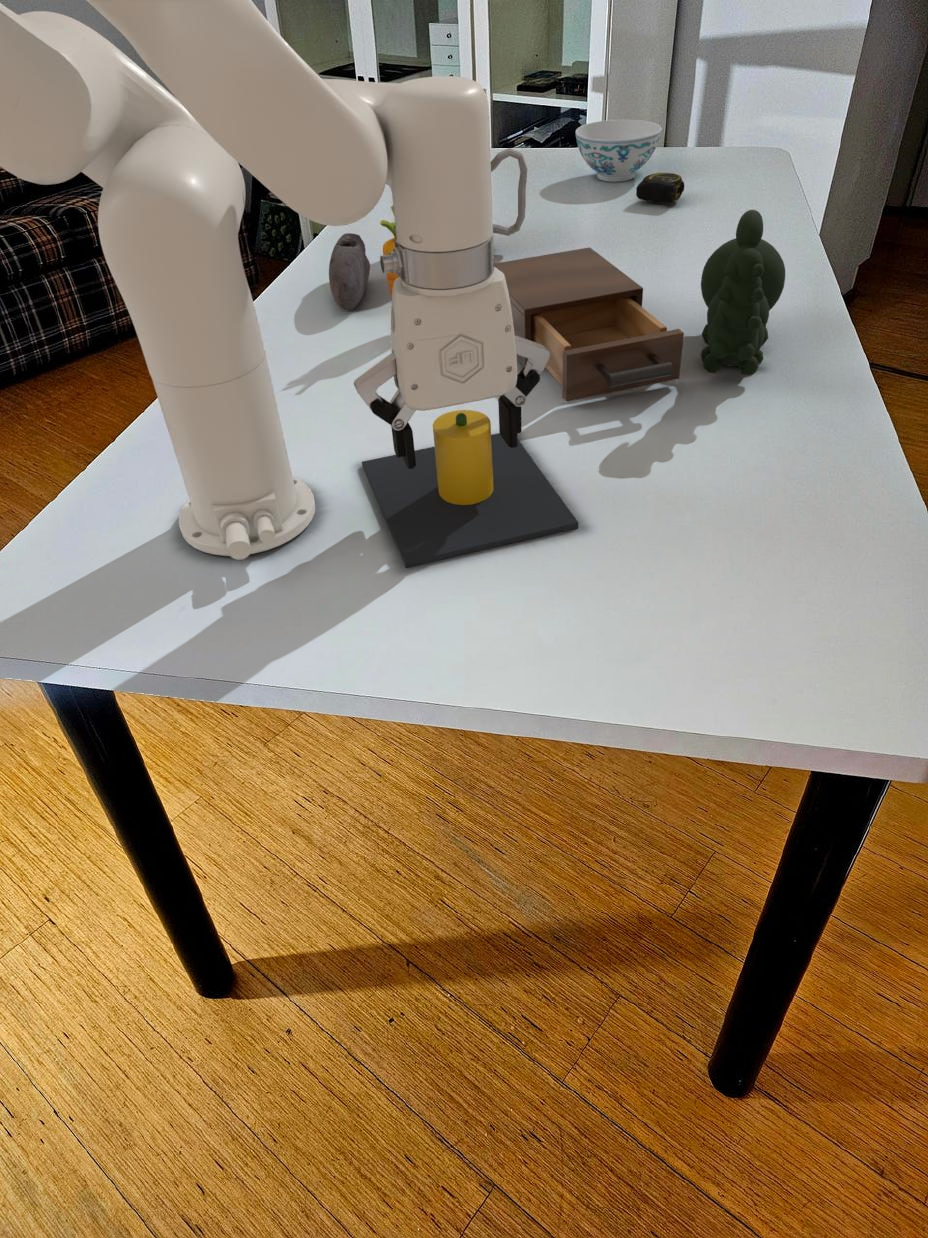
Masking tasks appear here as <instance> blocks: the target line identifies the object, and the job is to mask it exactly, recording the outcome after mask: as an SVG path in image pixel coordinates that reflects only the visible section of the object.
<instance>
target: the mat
mask: <svg viewBox="0 0 928 1238" xmlns="http://www.w3.org/2000/svg"><path fill="white" fill-rule="evenodd" d="M491 444H492V466H493V492H492V494H491V496H490V497H488V498H487V499H486V500H484V501H482V502H479V503H476V504H471V505H456V504H452V503H449V502H447V501H445V500H444V499H442V498H441V496H440V495H439V489H438V478H437V467H436V457H435V446H431V447H426V448H421V449H417V450H416V449H415V460H416V466H415V467H414V468H412V469H408V468H407V466H406V464H405V462H404V460H403V458H402V457H400V458H397V456H396V454H393V455H388V456H383V457H378V458H373V459H372V458H371V459H367V460H362V461H361V467H362V469H363V472H364V473H365V476H366V478H367V481H368V483H369V485H370V488H371V490H372V492H373V495H374V497H375V499H376V502H377V504H378V506H379V509H380V511H381V513H382V516H383V518H384V520H385V522H386V525H387V528H388V530H389V532H390V534H391V537H392V539H393V541H394V544H395V546H396V549H397V550H398V553H399V555H400V557H401V560H402V562H403V564H404V567H405V568H410V567H414V566H419V565H423V564H428V563H431V562H436V561H440V560H444V559H445V560H446V559H449V558H454V557H458V556H462V555H467V554H470V553H475V552H481V551H484V550H488V549H492V548H497V547H501V546H505V545H509V544H515V543H518V542H523V541H526V540H531V539H535V538H540V537H544V536H549V535H552V534H556V533H557V534H558V533H561V532H562V533H563V532H565V531H570V530H574V529H578V528H579V521H578V520H577V518H576V517H575V515H574V514H573V512H571V510H570V509H569V508H568V506H567V505H566V503H565V502H564V501H563V499H562V498H561V496H560V495H559V494H558V492H557V491H556V490H555V488H554V487H553V485H552V484H551V483H550V481H549V480H548V478H547V477H546V476H545V474H544V472H543V471H541V468H539V466H538V465H537V463H536V462H535V461H534V459H533V458H532V456H531V455H530V454H529V452H528V451H527V449H525V447H524V446H523V444H522V443H521V442H520V440H519V439H518V438H517V447H515V448H511V447H509V446H508V445H507V444H506V442H505V441H504V439H503V438H502V436H501V435H500V432H498V433H493V434H491Z"/></svg>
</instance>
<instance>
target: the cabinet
mask: <svg viewBox="0 0 928 1238" xmlns="http://www.w3.org/2000/svg"><path fill="white" fill-rule="evenodd" d="M494 267H495V268H497V269H498V270H500V271H501V272H502V273H503V274H504V276H505V279H506V283H507V288H508V293H509V299H510V304H511V311H512V318H513V326H514V335H516V336H519V337H522V338H524V339H527V340H530V341H531V315H533V314H539V313H544V312H550V311H555V310H561V309H566V308H572V307H577V306H583V305H588V304H594V303H599V302H605V301H610V300H616V299H621V298H626V297H630V298H631V299H632V300H634V301H635V302H636V303H637V304H639V305H640V306H641V307H642V308H643V296H644V287H643V286H641V285H640V284H639V283H637V282H636V280H634V279H632V278H631V277H629V276H628V275H627V274H626V273H624V272H623V271H622V270H620V269H619V268H618V267H616V266H615V265H614V264H613V263H611V262H610V261H608V260H607V259H606V258H604V257H603V256H602V255H601V254H599V252H597V251H595V250H594V249H593V248H592V247H590V246H589V247H583V248H577V249H572V250H565V251H560V252H559V251H558V252H553V253H549V254H543V255H542V254H541V255H537V256H530V257H524V258H519V259H514V260H513V259H512V260H507V261H501V262H494ZM516 355H517V354H516ZM517 361H518V362H519V363H520V364H521V365H522V367H523V368H524V367H525V366H526V364H527V361H528V358H526V357H523V356H520V355H517Z"/></svg>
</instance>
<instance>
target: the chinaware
mask: <svg viewBox="0 0 928 1238" xmlns="http://www.w3.org/2000/svg"><path fill="white" fill-rule="evenodd" d="M661 134H662V126H661V125H660V124H658V123H655V122H654V121H653V122H652V121H648V120H642V119H609V120H608V119H606V120H600V121H594V122H590V123H586V124H583V125H580V126H578V127H577V128H576V129H575V138H576V139H575V140H576V144H577V147H578V151H579V154H580V156H581V157H582V159H583V161H584V162H585V163H586V165H588V166H589V168H590V169H592V170H593V171H594V172H595V173H597V178H598V180H601V181H604V182H613V183H614V182H615V183H616V182H625V181H629V180H632V179H633V178H635V176H636V172H637V171H639V169H641V168H642V167H643V166H645V164H647V162H648V161H649V160H650V159H651V158H652V156H653V155H654V153H655V151H656V149H657V146H658V144H659V141H660V138H661Z"/></svg>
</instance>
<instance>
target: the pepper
mask: <svg viewBox="0 0 928 1238" xmlns="http://www.w3.org/2000/svg"><path fill="white" fill-rule="evenodd" d="M432 434H433V445H434V446H433V447H435V457H436V467H437V478H438V489H439V495H440V496H441V498H442V499H444V500H445V501H447V502H449V503H452V504H456V505H471V504H476V503H479V502H482V501H484V500H486V499H487V498H488V497H490V496H491V494H492V492H493V466H492V444H491V435H492V424H491V420H490V417H489V416H487V415H486V414H484V413H483V412H480V411H477V410H471V409H459V410H451V411H448V412H446V413H443V414H441V415H439V416H438V417H437V418H436V419H434V421H433V423H432Z"/></svg>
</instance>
